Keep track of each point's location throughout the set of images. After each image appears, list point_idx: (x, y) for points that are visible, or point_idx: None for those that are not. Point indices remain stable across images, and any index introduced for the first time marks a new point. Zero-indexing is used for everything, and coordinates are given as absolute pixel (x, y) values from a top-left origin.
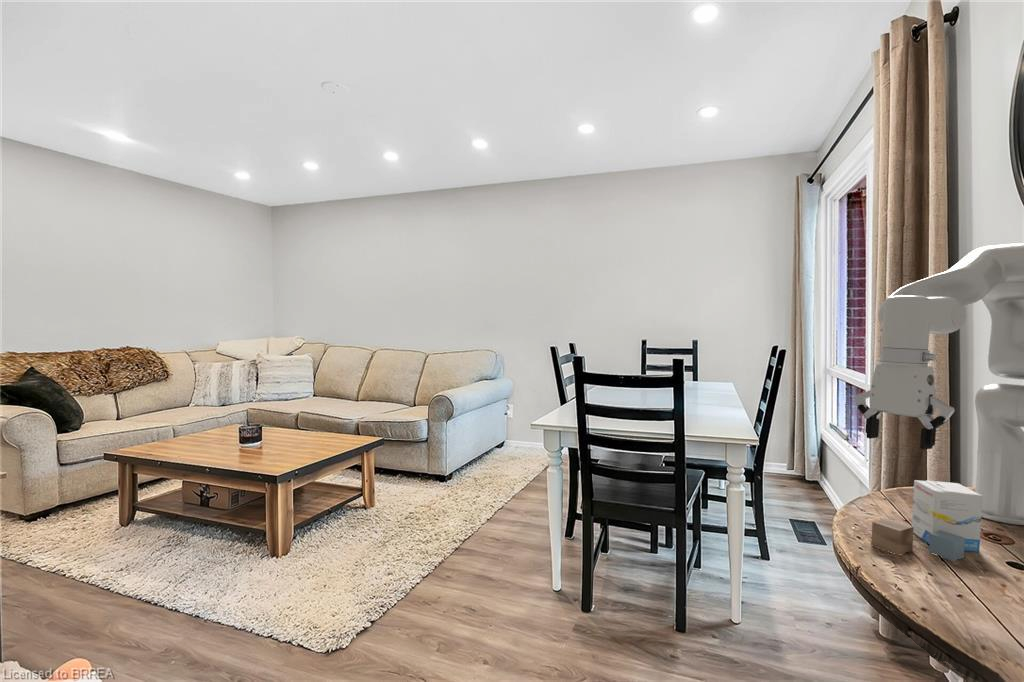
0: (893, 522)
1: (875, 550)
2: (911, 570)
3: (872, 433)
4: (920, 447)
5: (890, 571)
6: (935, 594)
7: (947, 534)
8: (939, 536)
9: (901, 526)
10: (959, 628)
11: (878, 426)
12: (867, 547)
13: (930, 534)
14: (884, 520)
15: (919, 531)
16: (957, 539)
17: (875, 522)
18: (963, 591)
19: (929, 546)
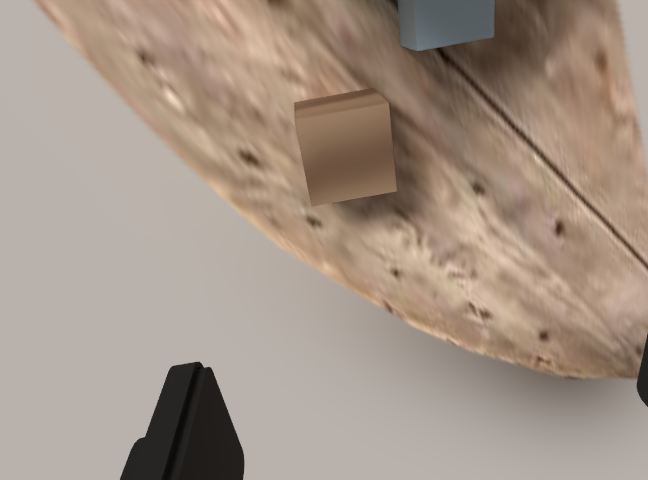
0: (335, 136)
1: None
2: (448, 214)
3: (232, 478)
4: (641, 395)
5: (431, 265)
6: (531, 269)
7: None
8: (446, 44)
9: (371, 145)
10: (601, 336)
11: (186, 476)
12: None
13: (417, 50)
14: (311, 151)
15: None
16: (490, 3)
17: (318, 200)
18: (557, 200)
19: (406, 47)
